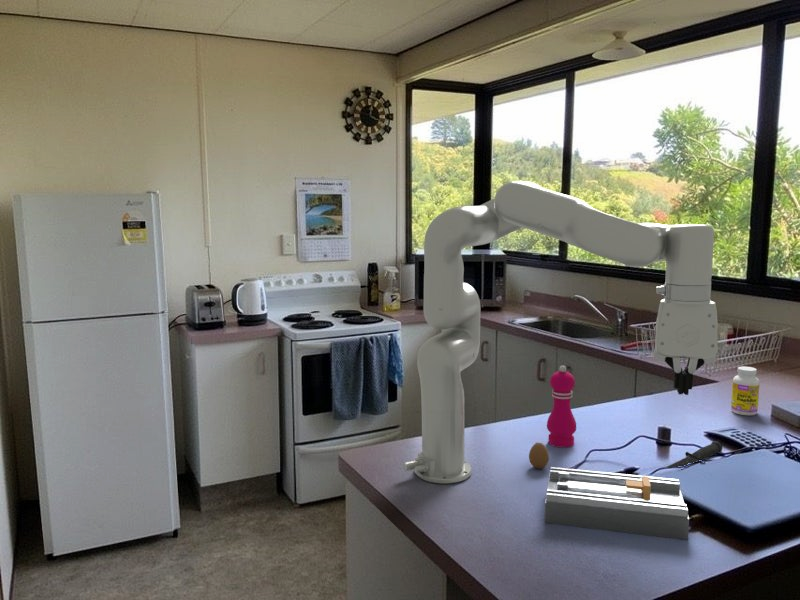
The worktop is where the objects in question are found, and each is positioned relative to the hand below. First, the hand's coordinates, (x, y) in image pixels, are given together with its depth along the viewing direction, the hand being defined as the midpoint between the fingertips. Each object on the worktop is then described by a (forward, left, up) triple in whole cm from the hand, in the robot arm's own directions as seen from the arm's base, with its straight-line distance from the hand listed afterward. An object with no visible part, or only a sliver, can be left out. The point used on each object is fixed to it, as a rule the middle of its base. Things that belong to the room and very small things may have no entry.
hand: (682, 392), depth 117 cm
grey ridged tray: (-8, +8, -25) cm, 28 cm away
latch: (-5, +5, -21) cm, 22 cm away
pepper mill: (+9, +41, -25) cm, 49 cm away
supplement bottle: (+69, +32, -25) cm, 80 cm away
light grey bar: (-10, +10, -21) cm, 25 cm away
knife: (+26, +17, -26) cm, 40 cm away
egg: (-6, +32, -25) cm, 41 cm away
